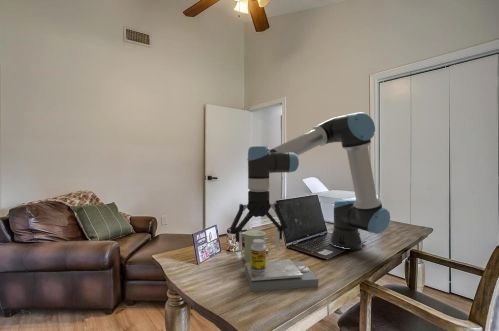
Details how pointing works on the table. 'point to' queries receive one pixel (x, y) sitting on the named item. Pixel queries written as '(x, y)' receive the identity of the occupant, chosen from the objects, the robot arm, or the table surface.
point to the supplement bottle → (258, 256)
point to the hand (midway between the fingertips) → (259, 249)
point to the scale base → (285, 280)
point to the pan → (275, 270)
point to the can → (249, 238)
